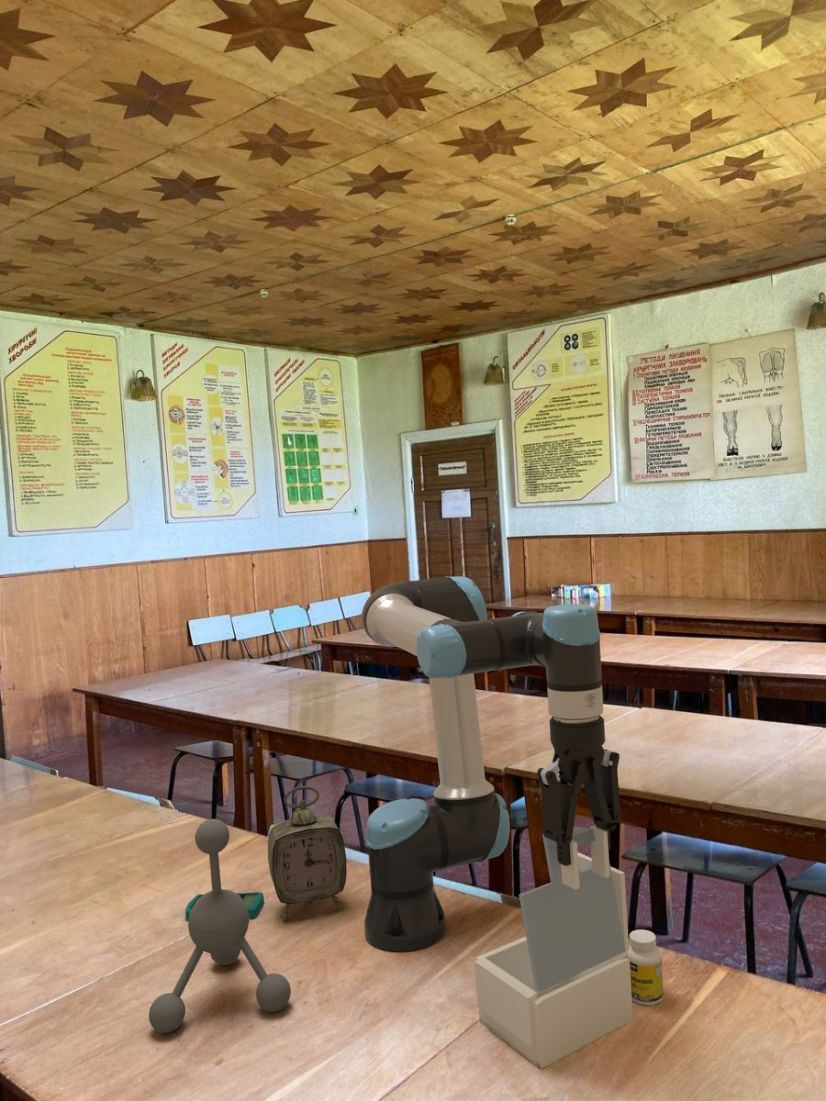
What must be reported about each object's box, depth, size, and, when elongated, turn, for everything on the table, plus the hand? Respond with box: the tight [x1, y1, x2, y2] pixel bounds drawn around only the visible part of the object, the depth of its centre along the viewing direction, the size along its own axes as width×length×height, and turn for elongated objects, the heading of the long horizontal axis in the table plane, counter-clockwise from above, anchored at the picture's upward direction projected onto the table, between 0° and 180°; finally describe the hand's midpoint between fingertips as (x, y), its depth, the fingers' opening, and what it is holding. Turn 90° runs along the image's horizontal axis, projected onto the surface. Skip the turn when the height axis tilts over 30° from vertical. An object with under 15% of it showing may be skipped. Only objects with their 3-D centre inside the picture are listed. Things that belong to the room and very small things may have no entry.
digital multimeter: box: [184, 891, 265, 922], centre depth 173 cm, size 7×15×3 cm, turn 86°
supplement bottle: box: [625, 929, 664, 1006], centre depth 134 cm, size 5×5×10 cm
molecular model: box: [148, 818, 292, 1034], centre depth 139 cm, size 24×22×30 cm
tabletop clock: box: [267, 785, 347, 921], centre depth 171 cm, size 14×9×25 cm, turn 106°
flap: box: [518, 825, 626, 992], centre depth 122 cm, size 20×17×5 cm
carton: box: [474, 852, 634, 1070], centre depth 129 cm, size 14×20×22 cm
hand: (586, 879), depth 121 cm, fingers closed on flap, 5 cm apart
